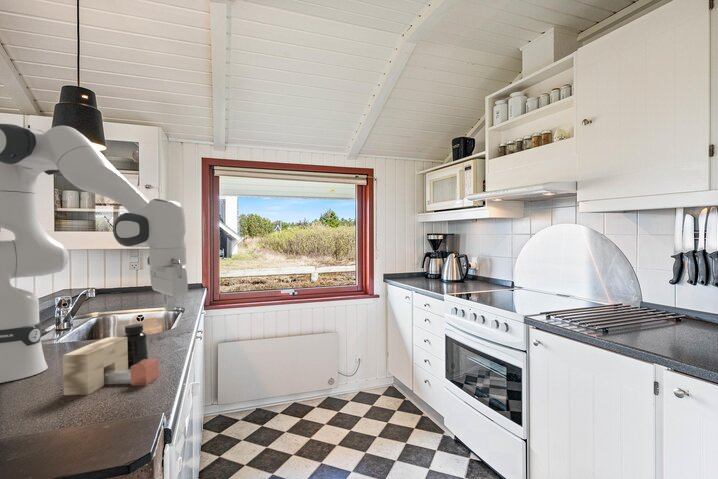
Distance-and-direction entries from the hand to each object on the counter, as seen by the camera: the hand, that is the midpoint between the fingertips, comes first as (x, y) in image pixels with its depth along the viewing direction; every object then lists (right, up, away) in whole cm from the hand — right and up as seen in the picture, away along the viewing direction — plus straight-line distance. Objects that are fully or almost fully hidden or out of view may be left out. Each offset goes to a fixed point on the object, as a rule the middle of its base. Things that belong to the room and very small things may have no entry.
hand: (169, 309), depth 98 cm
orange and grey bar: (-12, -19, 0) cm, 23 cm away
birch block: (-19, -20, 0) cm, 27 cm away
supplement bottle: (-18, -20, +14) cm, 30 cm away
